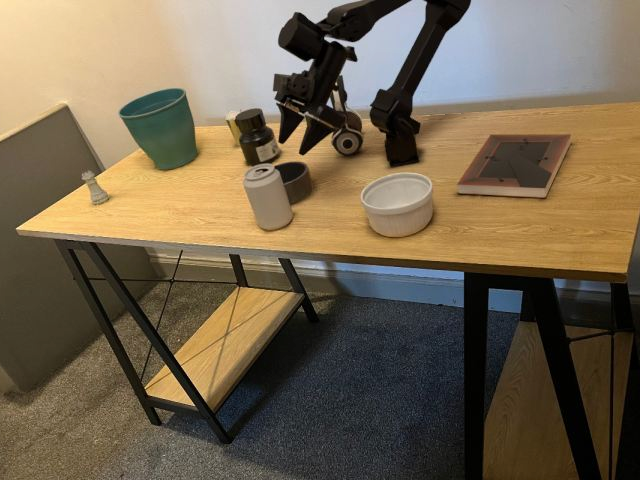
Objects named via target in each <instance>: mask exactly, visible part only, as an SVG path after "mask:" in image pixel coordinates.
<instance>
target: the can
mask: <svg viewBox="0 0 640 480" xmlns="http://www.w3.org/2000/svg"><path fill="white" fill-rule="evenodd" d="M274 166H275V165H273V164H272V163H268V164H260V165H256V166H251V167H250V168H248V169H247V170H246V171H245V172H244V173H243V178H244V179H243V181H242V185H243V188H244V190H245V193H246V196H247V199H248V202H249V204H250V207H251V210H252V212H253V214H254V218H255V220H256V223H257V226H258V227H259V228H261V229H263V230H266V231H277V230H281V229H282V228H284V227H286V226H287V225H288V224H289V223H290V222H291V220H292V218H293V216H294V213H293V209H292V205H290V203H289V200H288V197H287V194H286V191H285V188H284V185H283V181H282V178H281V175H280V172H279V171H278V170H276V169H274Z"/></svg>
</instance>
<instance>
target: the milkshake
mask: <svg viewBox="0 0 640 480" xmlns="http://www.w3.org/2000/svg"><path fill="white" fill-rule="evenodd" d="M241 112H242V110H240V111H239V110H232V111H228V112H227V113H226V114H225V117H224V119H225V122H226V125H227V126H228V129H229V131H230V132H231V135H232V137H233V140H234V142H235V144H236V146H237V147H241V146H240V143H239V138H240V136H241V132H240V130H239V128H238V125H237V122H236V119H235V117H236V116H237V115H238V114H239V113H241Z"/></svg>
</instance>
